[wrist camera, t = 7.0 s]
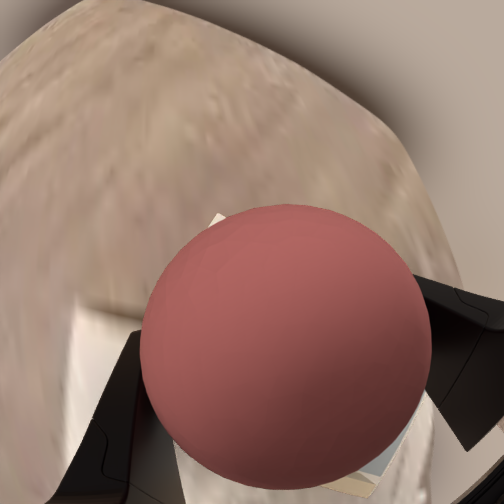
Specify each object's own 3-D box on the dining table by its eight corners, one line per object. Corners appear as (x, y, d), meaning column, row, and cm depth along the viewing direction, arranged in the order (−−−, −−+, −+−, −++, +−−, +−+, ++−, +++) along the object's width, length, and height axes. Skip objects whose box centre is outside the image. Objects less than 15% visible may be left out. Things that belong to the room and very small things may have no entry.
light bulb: (147, 354, 15) (15, 388, 3) (230, 248, 17) (286, 80, 5) (258, 433, 14) (362, 578, 3) (334, 327, 17) (523, 294, 5)
